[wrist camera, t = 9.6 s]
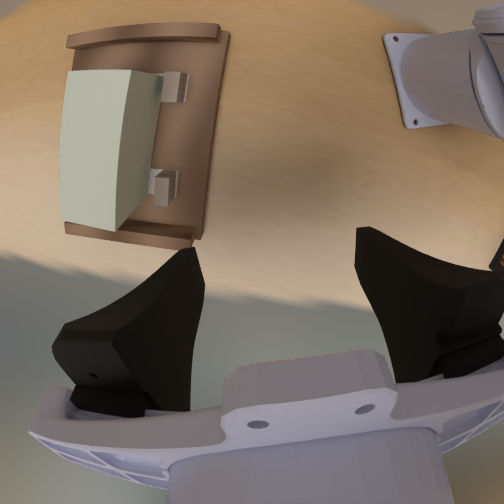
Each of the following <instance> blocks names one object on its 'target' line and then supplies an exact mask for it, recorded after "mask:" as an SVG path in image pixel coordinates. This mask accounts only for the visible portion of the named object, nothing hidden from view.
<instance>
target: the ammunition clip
mask: <svg viewBox="0 0 504 504" xmlns="http://www.w3.org/2000/svg"><path fill="white" fill-rule="evenodd" d="M489 268H490V269H491V270H492V271H495V272H499V273H500V274H501V275H502V276H503V277H504V239H503V241H502V243H501V245H500V247H499V249H498V251H497V252H496V254H495V256H494V258H493V260H492V261H491V263H490V265H489Z"/></svg>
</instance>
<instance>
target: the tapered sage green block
mask: <svg viewBox="0 0 504 504" xmlns="http://www.w3.org/2000/svg"><path fill="white" fill-rule="evenodd" d="M163 82H164V76H160V75H156V74H151V73H146V72H140V71H135V70H80V71H68V77H67V83H66V89H65V96H64V104H63V113H62V124H61V139H60V205H61V220H63V221H67V222H72V223H76V224H81V225H86V226H90V227H95V228H100V229H104V230H109V231H114V232H116V230H117V229H118V228H119V227H120V226H121V225H122V223H123V222H124V221H125V220H126V219H127V218H128V217H129V216H130V215H131V213H132V212H133V211H134V210H135V209H136V208H137V207H138V206H139V205H140V204H141V203H142V201H143V200H144V199H145V198H146V197H147V196H148V187H149V178H150V169H151V161H152V153H153V146H154V139H155V133H156V127H157V121H158V115H159V109H160V104H161V97H162V89H163Z"/></svg>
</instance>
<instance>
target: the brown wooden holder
mask: <svg viewBox="0 0 504 504" xmlns="http://www.w3.org/2000/svg"><path fill="white" fill-rule="evenodd" d="M229 40H230V33H229V32H228V31H221V28H220V26H219V24H214V23H151V24H137V25H127V26H119V27H111V28H104V29H98V30H93V31H87V32H82V33H77V34H73V35H69V36H68V38H67V43H66V48H70V49H75V53H74V59H73V66H72V71H80V70H135V71H140V72H146V73H151V74H156V75H160V76H164V82H163V89H162V97H161V104H160V109H159V115H158V121H157V127H156V133H155V139H154V146H153V153H152V161H151V169H150V178H149V187H148V196H147V197H146V198H145V199H144V200H143V201H142V203H141V204H140V205H139V206H138V207H137V208H136V209H135V210H134V211H133V212H132V213H131V215H130V216H129V217H128V218H127V219H126V220H125V221H124V222H123V223H122V225H121V226H120V227H119V228H118V229H117V230H116V232H114V231H109V230H104V229H100V228H95V227H90V226H86V225H81V224H76V223H72V222H67V221H66V222H65V223H64V226H65V232H66V234H71V235H77V236H84V237H91V238H97V239H104V240H111V241H117V242H124V243H131V244H138V245H145V246H151V247H158V248H165V249H172V250H181V249H183V248H190V247H192V244H193V242H194V239H197V240H201V237H202V234H203V226H204V215H205V205H206V196H207V187H208V178H209V169H210V161H211V153H212V145H213V138H214V131H215V123H216V117H217V110H218V103H219V97H220V91H221V85H222V79H223V73H224V67H225V61H226V56H227V50H228V45H229Z"/></svg>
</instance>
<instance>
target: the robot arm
mask: <svg viewBox="0 0 504 504" xmlns="http://www.w3.org/2000/svg"><path fill="white" fill-rule="evenodd" d="M472 23H473V25H474V26H475V28H476V29H471V30H464V31H457V32H450V33H445V34H439V35H433V34H414V33H388V34H385V35H384V36H383V41H384V44H385V47H386V50H387V54H388V57H389V61H390V64H391V68H392V72H393V75H394V79H395V83H396V88H397V92H398V97H399V101H400V106H401V111H402V116H403V122H404V125H405V127H406V128H408V129H415V128H422V127H429V126H436V125H444V124H454V125H458V126H462V127H465V128H468V129H472V130H475V131H478V132H481V133H484V134H487V135H490V136H493V137H496V138H499V139H501V140H503V141H504V3H499V4H494V5H491V6H487V7H483V8H480V9H478V10H476V13H475V18H474V19H473V21H472ZM393 37H395V38H396V40H397V41H396V42H395V41H394V40H393ZM414 120H416V124H415V125H414V124H413V121H414ZM354 267H355V270H356V273H357V276H358V279H359V281H360V284H361V286H362V288H363V290H364V292H365V294H366V296H367V298H368V300H369V302H370V304H371V306H372V308H373V310H374V312H375V314H376V316H377V318H378V321H379V323H380V326H381V328H382V331H383V334H384V337H385V341H386V344H387V347H388V351H389V355H390V358H391V362H392V367H393V371H394V376H395V381H396V383H394V381H393V378H392V375H391V372H390V370H389V368H388V365H387V362H386V359H385V357H384V356H383V355H381V354H379V353H377V352H376V351H374V350H349V351H343V352H337V353H331V354H325V355H319V356H311V357H304V358H296V359H288V360H279V361H269V362H259V363H254V364H250V365H246V366H241V367H238V368H237V369H235V370H234V371H233V372H231V373H230V374H229V375H227V376H226V377H225V378H224V386H223V399H222V405H221V406H216V407H211V408H206V409H200V410H194V411H190V392H191V370H192V358H193V348H194V342H195V338H196V333H197V329H198V325H199V320H200V316H201V311H202V307H203V302H204V292H205V282H204V279H203V275H202V271H201V268H200V264H199V261H198V257H197V253H196V249H195V247H190V248H183V249H181V250H179V251H178V252H177V253H176V254H175V255H173V256H172V257H171V258H170V259H169V260H168V261H167V262H166V263H165V264H164V265H162V266H161V267H160V268H159V269H158V270H157V271H156V272H155V273H153V274H152V275H151V276H150V277H149V278H147V279H146V280H145V281H144V282H143V283H141V284H140V285H139V286H138V287H136V288H135V289H133V290H132V291H131V292H129V293H128V294H126V295H125V296H123V297H122V298H120V299H118V300H116V301H115V302H113V303H111V304H110V305H108V306H106V307H104V308H102V309H100V310H98V311H96V312H94V313H91V314H89V315H87V316H85V317H82V318H79V319H76V320H74V321H71V322H68V323H65V324H64V326H63V328H62V329H61V331H60V333H59V334H58V336H57V338H56V340H55V341H54V343H53V345H52V352H53V355H54V357H55V360H56V361H57V362H58V364H59V365H60V366H61V368H62V369H63V370H64V371H65V373H66V374H67V375H68V376H69V377H70V378H71V380H72V381H73V382H74V383H75V384H76V386H75V388H74V391H72V390H71V389H69V388H67V387H63V386H58V385H53V384H48V385H47V387H46V389H45V391H44V393H43V395H42V397H41V400H40V402H39V405H38V407H37V409H36V411H35V414H34V416H33V419H32V421H31V423H30V426H29V429H28V432H29V434H31V435H32V436H33V437H35V438H36V439H37V440H39V441H40V442H41V443H43V444H44V445H45V446H47V447H48V448H50V449H51V450H52V451H54V452H55V453H57V454H58V455H60V456H62V457H63V458H64V459H66V460H68V461H71V462H74V463H77V464H79V465H82V466H85V467H88V468H90V469H93V470H97V471H99V472H103V473H105V474H108V475H111V476H115V477H118V478H121V479H125V480H128V481H132V482H135V483H139V484H143V485H148V486H152V487H156V488H160V489H165V490H167V495H166V503H165V504H454V500H453V496H452V492H451V488H450V484H449V480H448V476H447V473H446V470H445V466H444V462H443V459H442V456H441V454H443V453H445V452H447V451H449V450H451V449H453V448H455V447H456V446H458V445H460V444H462V443H464V442H466V441H467V440H469V439H471V438H472V437H474V436H476V435H478V434H479V433H481V432H482V431H484V430H486V429H487V428H489V427H490V426H492V425H493V424H495V423H497V422H498V421H500V420H501V419H503V418H504V340H503V339H502V337H501V336H500V335H499V334H501V332H502V328H501V327H500V325H499V324H498V323H499V321H500V319H501V317H502V315H503V313H504V277H503V276H502V275H501V274H500V273H499V272H495V271H486V270H478V269H473V268H468V267H463V266H459V265H455V264H452V263H449V262H445V261H442V260H439V259H436V258H434V257H431V256H429V255H426V254H424V253H421V252H419V251H417V250H415V249H413V248H411V247H409V246H407V245H405V244H403V243H401V242H399V241H397V240H395V239H393V238H392V237H390V236H388V235H386V234H384V233H382V232H380V231H378V230H376V229H374V228H372V227H369V226H368V227H359V228H356V249H355V265H354Z"/></svg>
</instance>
